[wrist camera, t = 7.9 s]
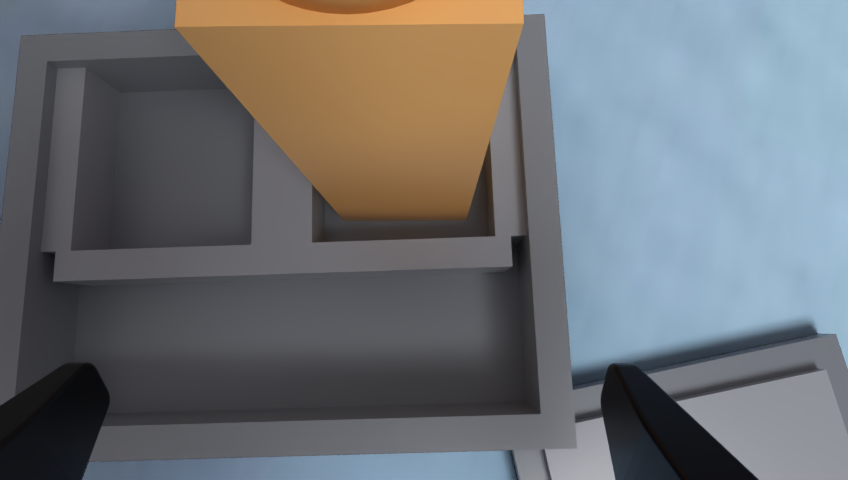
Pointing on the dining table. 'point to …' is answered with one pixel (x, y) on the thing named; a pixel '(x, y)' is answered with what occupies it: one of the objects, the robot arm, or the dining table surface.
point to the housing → (271, 271)
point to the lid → (732, 413)
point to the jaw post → (368, 92)
